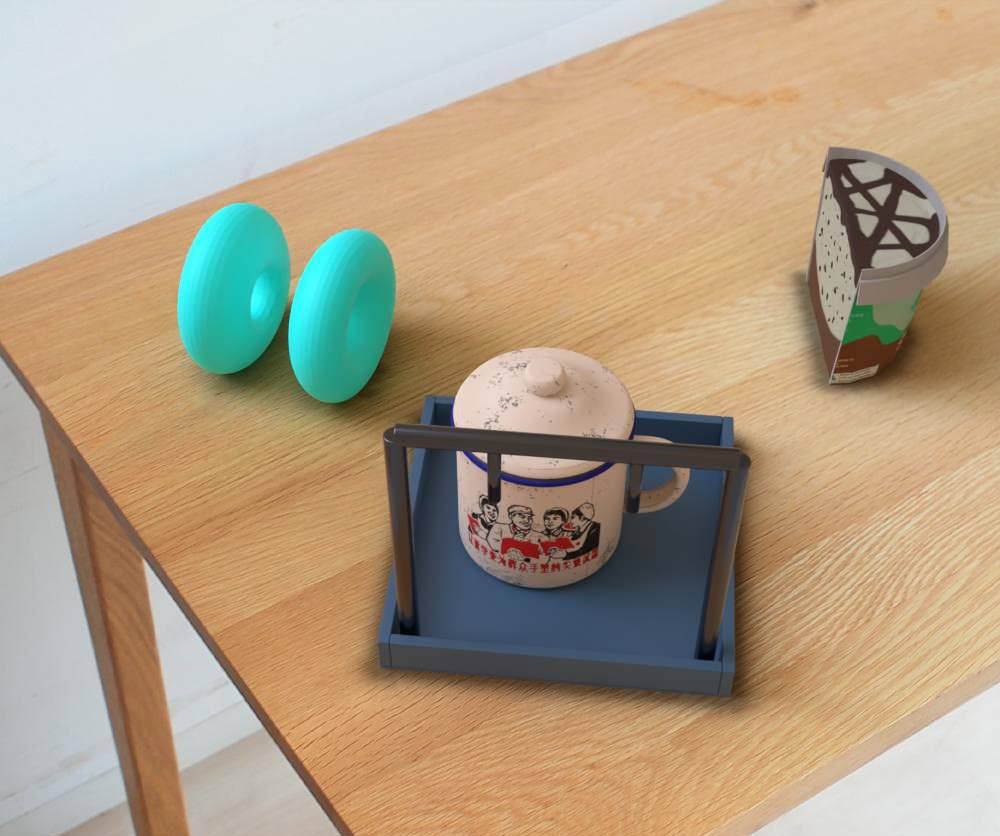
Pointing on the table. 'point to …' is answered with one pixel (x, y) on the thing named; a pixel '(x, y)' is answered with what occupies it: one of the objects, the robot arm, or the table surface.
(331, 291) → the donuts
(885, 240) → the food container
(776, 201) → the table surface
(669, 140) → the table surface
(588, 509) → the teacup with lid
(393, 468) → the rack frame
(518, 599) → the drip tray
